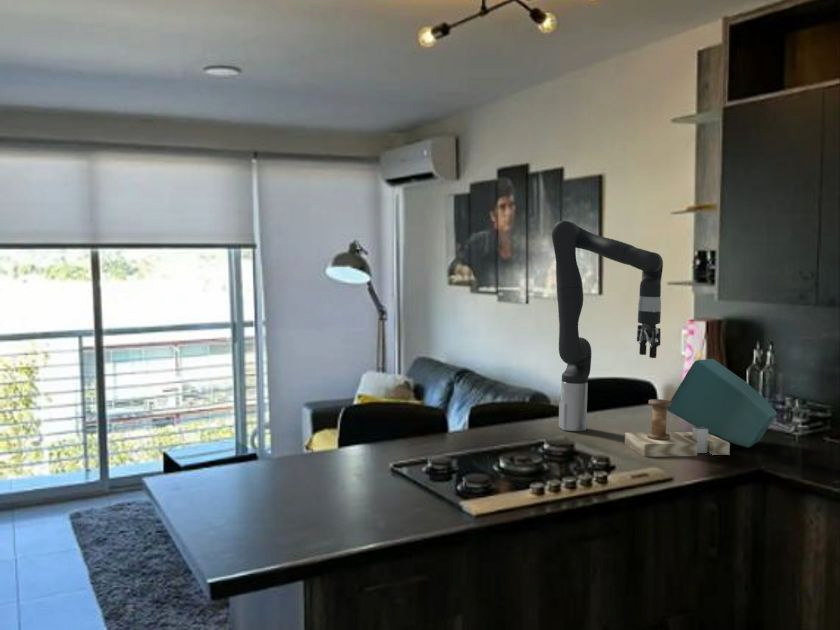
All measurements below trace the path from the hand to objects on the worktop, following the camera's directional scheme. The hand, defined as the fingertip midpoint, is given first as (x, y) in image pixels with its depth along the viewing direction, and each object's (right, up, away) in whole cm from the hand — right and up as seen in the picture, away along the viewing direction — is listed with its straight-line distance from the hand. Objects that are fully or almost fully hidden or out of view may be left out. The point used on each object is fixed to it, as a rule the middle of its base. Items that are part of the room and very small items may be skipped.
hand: (647, 356), depth 262 cm
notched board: (+4, -29, -18) cm, 35 cm away
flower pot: (+34, -24, -15) cm, 44 cm away
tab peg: (+10, -30, -21) cm, 38 cm away
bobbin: (-2, -25, -19) cm, 32 cm away
